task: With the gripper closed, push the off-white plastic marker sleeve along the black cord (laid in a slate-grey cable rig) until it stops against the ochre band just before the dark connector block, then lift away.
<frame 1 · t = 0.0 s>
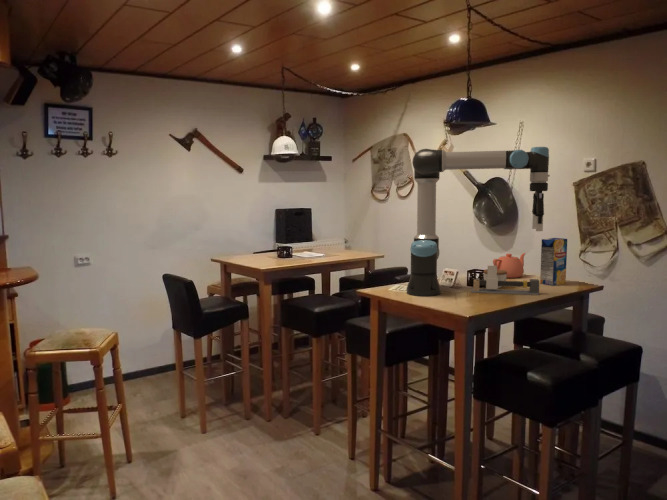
hand: (537, 230, 237), 28 cm above the table, fingers open, 13 cm apart
marker sleeve: (491, 277, 240), point 7 cm above the table, slide at 0.0 cm
lidded jar: (494, 287, 253), on the table
cord rig: (504, 292, 240), on the table
teapot: (509, 276, 282), on the table
beverage box: (552, 283, 260), on the table
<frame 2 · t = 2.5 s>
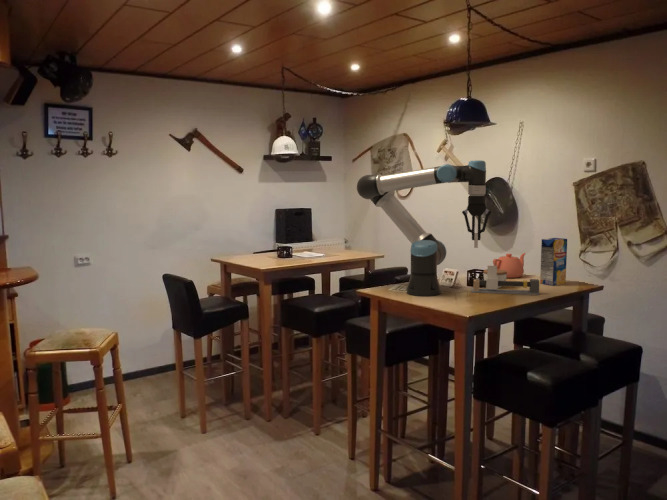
hand: (475, 247, 241), 20 cm above the table, fingers closed
nothing on the table moved.
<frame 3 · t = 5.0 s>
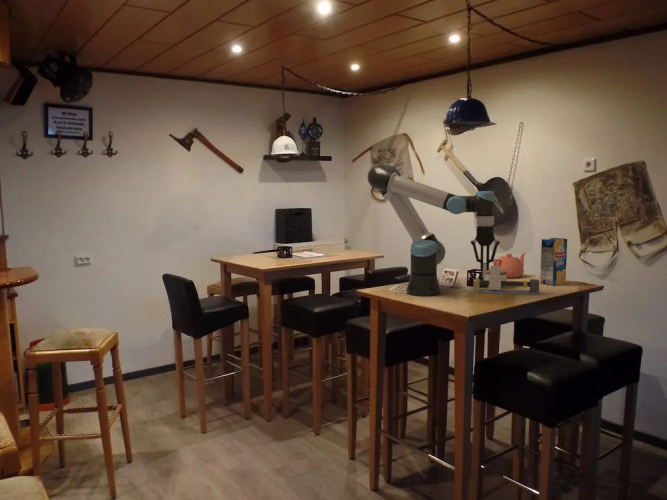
hand: (484, 277, 241), 7 cm above the table, fingers closed
marker sleeve: (494, 277, 240), point 7 cm above the table, slide at 1.3 cm, touching gripper
everything else where it was.
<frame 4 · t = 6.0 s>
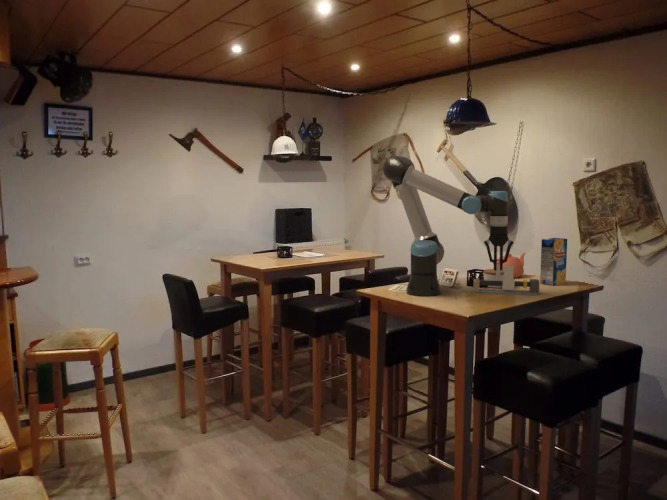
hand: (497, 277, 240), 7 cm above the table, fingers closed
marker sleeve: (508, 277, 239), point 7 cm above the table, slide at 7.1 cm, touching gripper
everything else where it was.
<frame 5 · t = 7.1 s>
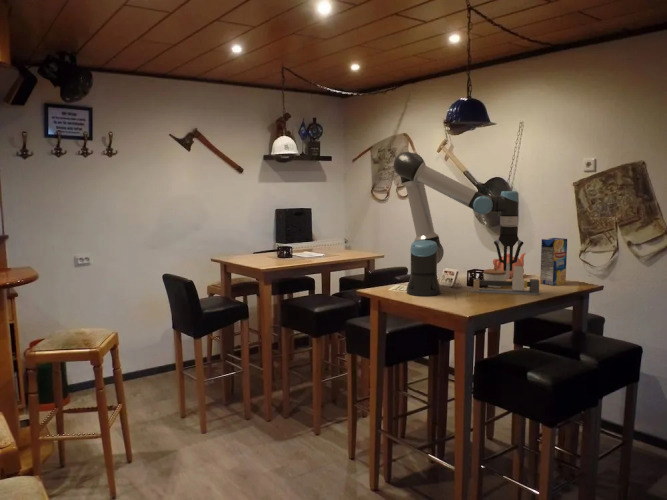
hand: (507, 278, 239), 7 cm above the table, fingers closed
marker sleeve: (518, 277, 238), point 7 cm above the table, slide at 11.2 cm, touching gripper
everything else where it was.
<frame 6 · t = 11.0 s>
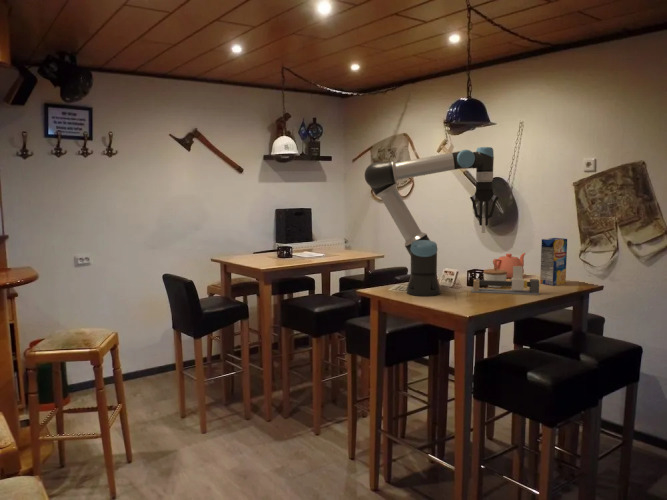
hand: (483, 232, 246), 26 cm above the table, fingers closed
marker sleeve: (517, 277, 238), point 7 cm above the table, slide at 11.0 cm
everything else where it was.
at the end: marker sleeve slide at 11.0 cm; marker sleeve touching nothing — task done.
